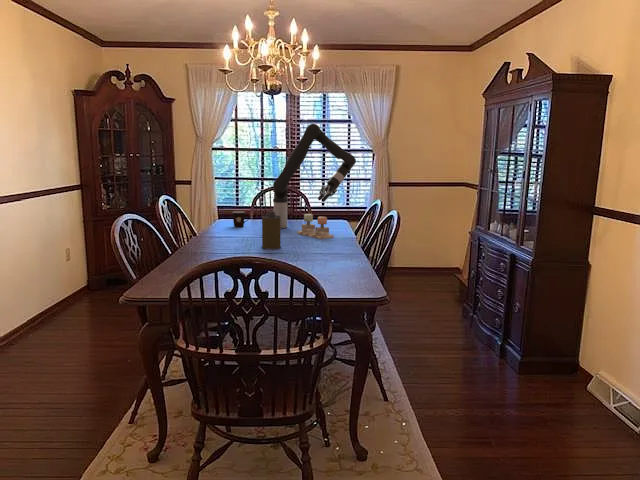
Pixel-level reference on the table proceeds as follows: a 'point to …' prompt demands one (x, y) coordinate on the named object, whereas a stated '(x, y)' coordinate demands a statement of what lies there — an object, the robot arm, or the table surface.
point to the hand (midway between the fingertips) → (321, 199)
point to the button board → (315, 231)
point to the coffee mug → (239, 218)
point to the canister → (271, 231)
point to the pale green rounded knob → (308, 218)
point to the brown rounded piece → (322, 221)
